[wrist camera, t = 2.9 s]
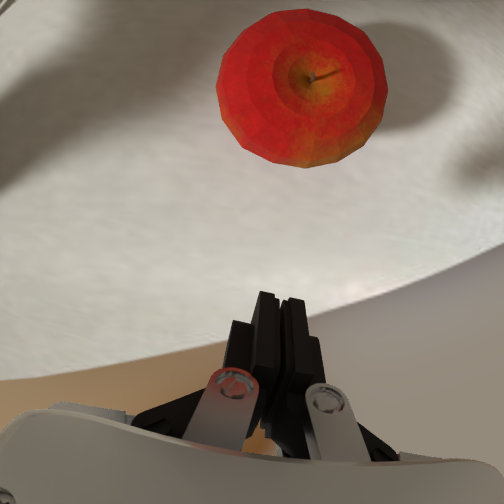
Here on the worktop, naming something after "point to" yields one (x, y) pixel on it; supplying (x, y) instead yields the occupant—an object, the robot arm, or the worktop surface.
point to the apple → (302, 88)
